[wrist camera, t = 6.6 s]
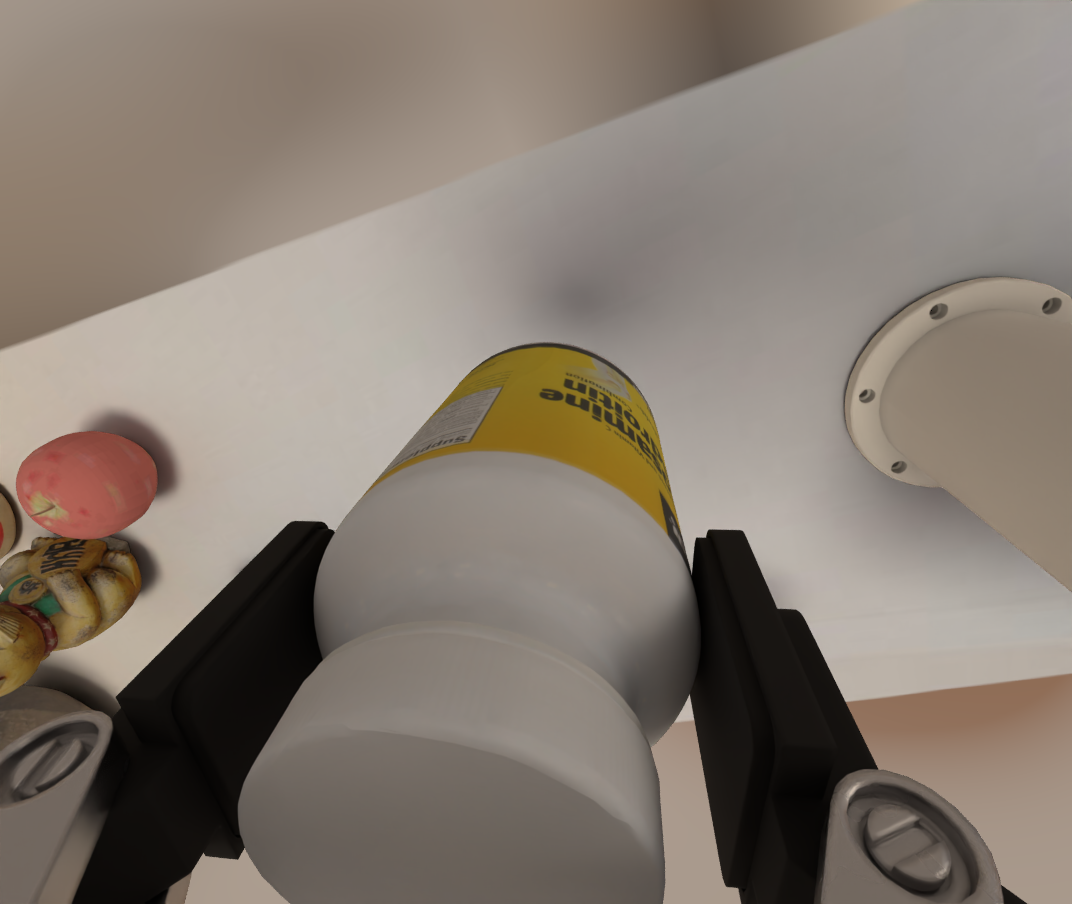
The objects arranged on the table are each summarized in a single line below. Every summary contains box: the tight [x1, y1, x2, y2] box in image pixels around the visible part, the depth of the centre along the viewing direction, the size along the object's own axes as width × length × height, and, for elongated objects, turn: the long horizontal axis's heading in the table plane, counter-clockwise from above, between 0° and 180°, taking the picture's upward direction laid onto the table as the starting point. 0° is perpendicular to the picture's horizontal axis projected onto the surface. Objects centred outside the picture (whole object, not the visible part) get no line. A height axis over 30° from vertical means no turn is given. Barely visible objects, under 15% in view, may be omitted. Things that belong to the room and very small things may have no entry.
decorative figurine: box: [0, 536, 142, 697], centre depth 38 cm, size 10×8×15 cm
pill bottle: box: [238, 342, 701, 904], centre depth 11 cm, size 6×6×12 cm
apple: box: [16, 431, 158, 539], centre depth 36 cm, size 7×7×8 cm
